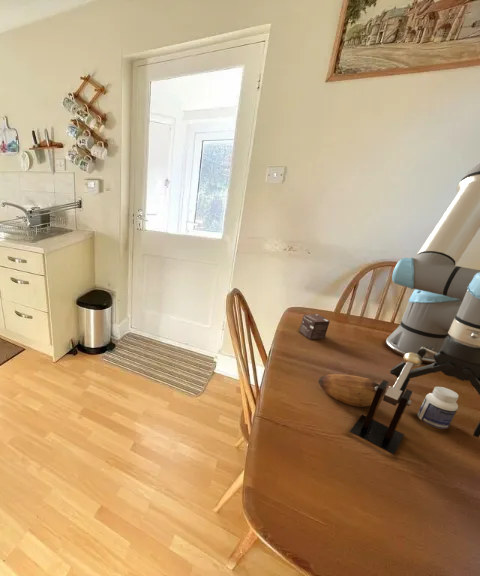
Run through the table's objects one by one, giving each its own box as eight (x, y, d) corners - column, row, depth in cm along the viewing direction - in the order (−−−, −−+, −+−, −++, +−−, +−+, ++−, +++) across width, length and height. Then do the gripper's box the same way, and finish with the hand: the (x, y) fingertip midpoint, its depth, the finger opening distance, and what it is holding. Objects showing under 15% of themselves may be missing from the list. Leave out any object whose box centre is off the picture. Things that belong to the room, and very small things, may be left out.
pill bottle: (453, 433, 74) (470, 401, 71) (426, 430, 75) (442, 398, 72) (435, 417, 79) (450, 385, 76) (410, 414, 80) (424, 383, 77)
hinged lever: (404, 356, 76) (407, 347, 74) (422, 362, 74) (425, 353, 72) (379, 400, 71) (381, 392, 69) (398, 408, 68) (401, 400, 67)
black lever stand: (360, 417, 79) (378, 372, 74) (402, 438, 73) (424, 390, 68) (348, 434, 74) (366, 387, 69) (392, 458, 68) (415, 408, 63)
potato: (319, 405, 88) (319, 378, 92) (383, 416, 80) (380, 386, 84) (317, 394, 83) (317, 367, 87) (386, 404, 75) (382, 374, 79)
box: (298, 331, 121) (302, 314, 118) (312, 330, 121) (317, 313, 119) (310, 339, 115) (315, 321, 112) (325, 338, 116) (330, 320, 113)
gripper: (392, 324, 76) (366, 394, 84) (570, 375, 57) (515, 459, 65) (400, 316, 80) (374, 383, 88) (569, 361, 61) (517, 442, 69)
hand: (434, 416), depth 76 cm, fingers open, 13 cm apart
